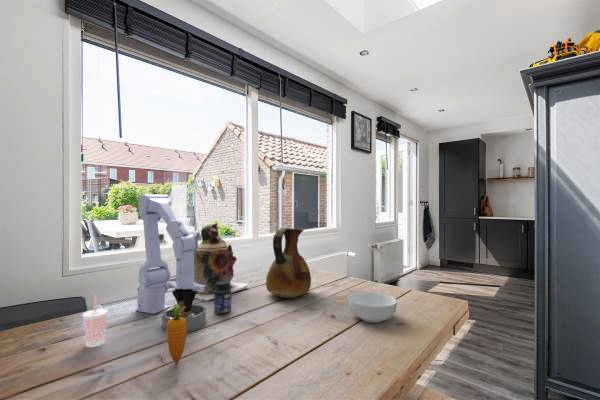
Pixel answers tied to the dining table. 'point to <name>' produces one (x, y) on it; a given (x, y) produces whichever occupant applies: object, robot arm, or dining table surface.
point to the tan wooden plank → (183, 313)
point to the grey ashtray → (188, 317)
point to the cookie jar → (214, 263)
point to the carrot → (176, 333)
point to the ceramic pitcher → (288, 266)
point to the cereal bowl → (372, 306)
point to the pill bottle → (222, 298)
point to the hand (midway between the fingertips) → (185, 310)
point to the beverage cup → (95, 326)
